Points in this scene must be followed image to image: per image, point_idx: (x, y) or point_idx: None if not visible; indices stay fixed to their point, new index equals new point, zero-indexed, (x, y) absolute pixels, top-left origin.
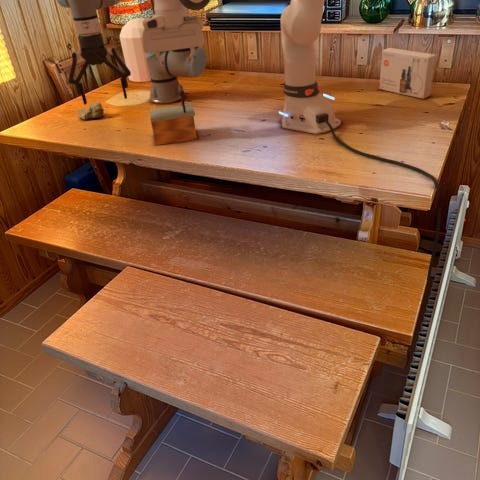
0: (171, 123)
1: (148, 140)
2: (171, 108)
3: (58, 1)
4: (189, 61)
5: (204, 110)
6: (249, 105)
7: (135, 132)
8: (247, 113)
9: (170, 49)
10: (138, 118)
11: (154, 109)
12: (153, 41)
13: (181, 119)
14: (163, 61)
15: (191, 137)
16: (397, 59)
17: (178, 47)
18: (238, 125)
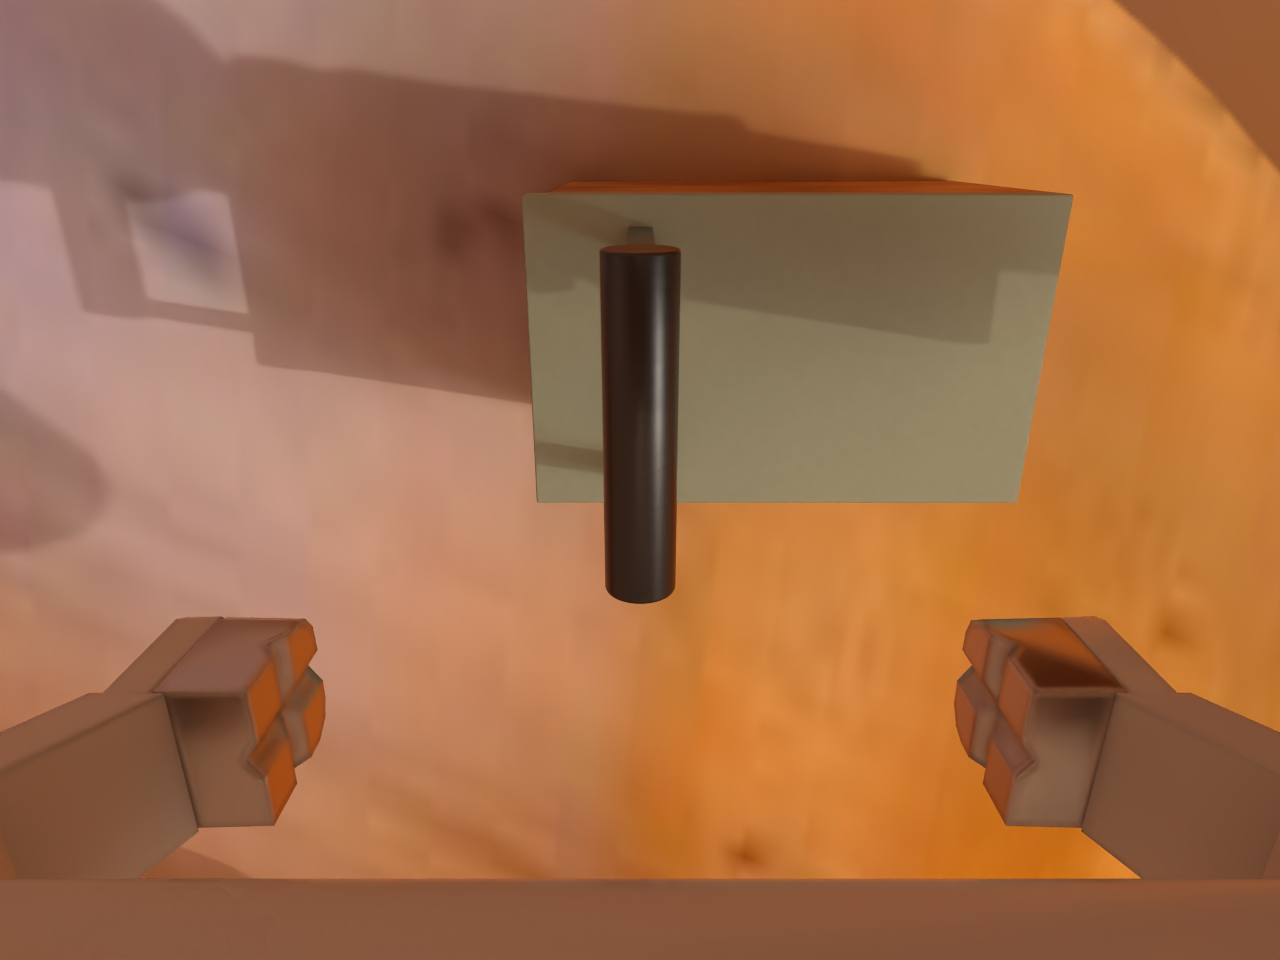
0: (809, 189)
1: None
2: (777, 446)
3: None
4: (281, 621)
5: (462, 782)
6: None
7: (1056, 549)
8: (106, 597)
9: (872, 893)
10: (977, 812)
11: (963, 492)
12: None
13: (693, 191)
14: (1050, 666)
15: (616, 181)
16: None
17: (424, 932)
18: (180, 362)
